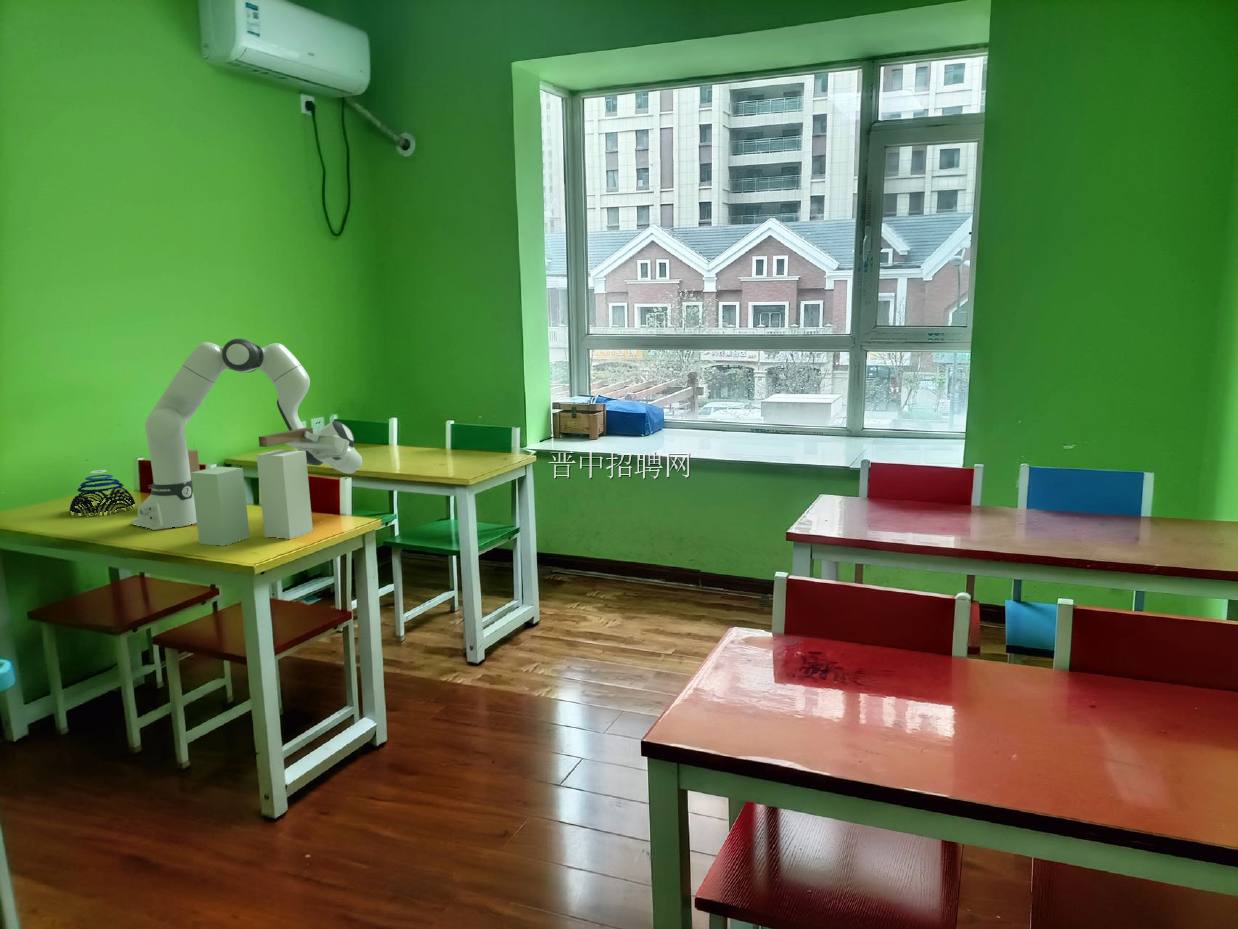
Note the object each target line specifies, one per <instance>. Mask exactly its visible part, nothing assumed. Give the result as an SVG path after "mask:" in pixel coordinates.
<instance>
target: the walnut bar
mask: <svg viewBox="0 0 1238 929" xmlns="http://www.w3.org/2000/svg"><path fill="white" fill-rule="evenodd" d="M303 431H308V432H310V433H312V434H314V428H313V427H304V428H301V429H296V430H291V431H289V430H286V431H281V432H276V433H271V434H267V435H261V436H258V445H259V447H261V448H270V447H274V446H278V445H284V444H285V443H289V442H294V441H298V440H303V439H308V438H304V437H303V436H302V434H303Z"/></svg>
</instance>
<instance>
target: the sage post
mask: <svg viewBox="0 0 1238 929" xmlns="http://www.w3.org/2000/svg"><path fill="white" fill-rule="evenodd" d="M191 476H192V485H193V494H194V502H195V511H196V520H197V523H196V526H197V527H196V529H197V535H198V536H197V537H198V544H200V545H208V546H209V545H210V546H216V545H220V546H219V547H226V546H225V545H227V546H229V545H233V544H236V543H239V542H240V541H239V540H242V541H245V540H247V539H246V538H248V537H250V538H251V536H250V527H249V526H250V525H249V519H248V518H249V515H248V508H247V506H248V505H247V498H246V497H247V496H246V489H245V487H246V486H245V479H244V478H245V477H244V468H243V467H233V466H232V467H231V466H228V467H227V466H214V467H210V468H204V469H200V471H196V472H191ZM244 539H245V540H244ZM248 539H249V538H248ZM238 541H239V542H238ZM232 543H233V544H232Z"/></svg>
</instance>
